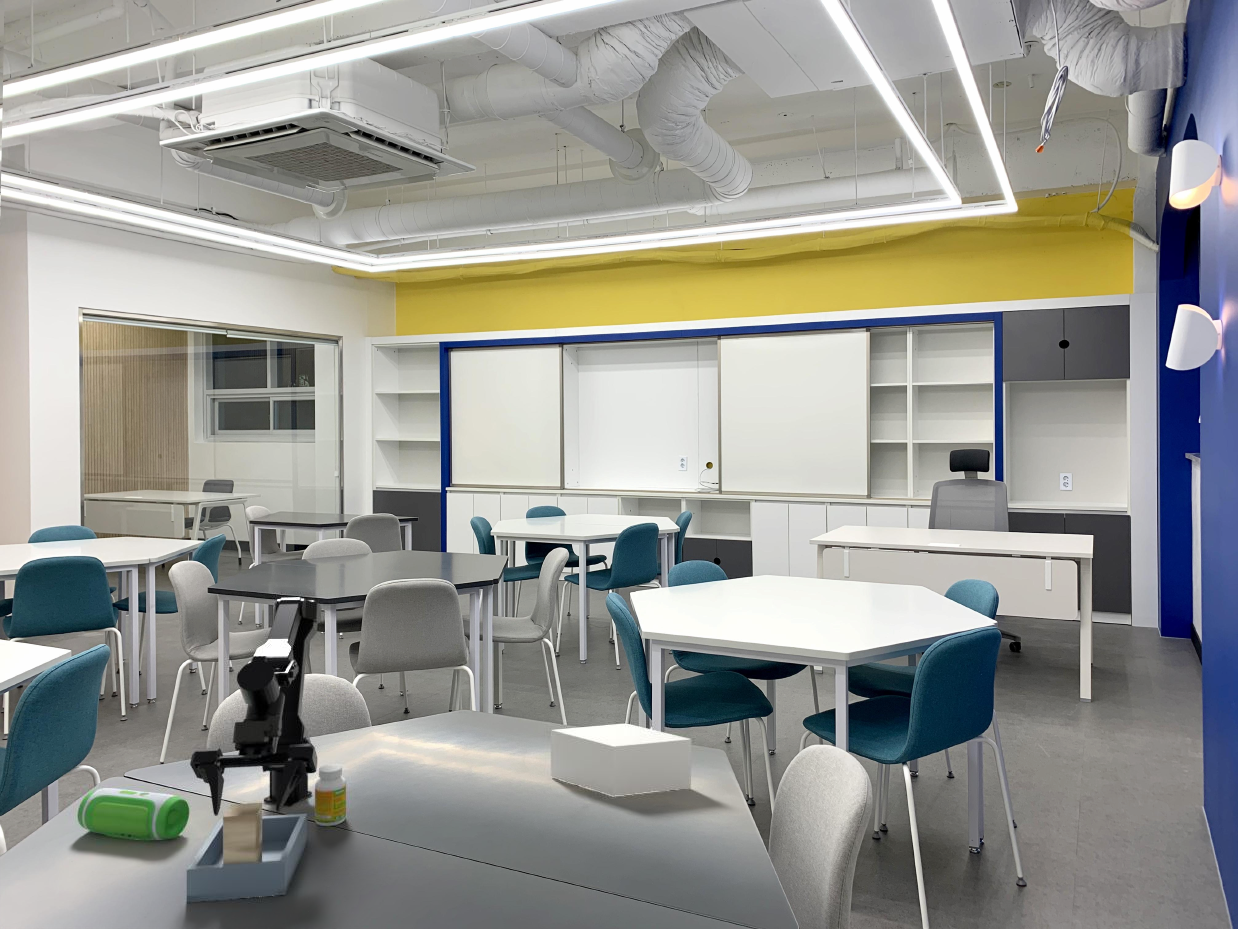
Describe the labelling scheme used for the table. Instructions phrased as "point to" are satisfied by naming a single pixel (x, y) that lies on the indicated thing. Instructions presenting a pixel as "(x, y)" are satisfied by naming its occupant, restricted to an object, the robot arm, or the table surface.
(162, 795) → the speaker
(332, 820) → the supplement bottle
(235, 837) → the tall ash block
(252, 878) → the tote
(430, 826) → the table surface
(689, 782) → the white rectangular block
